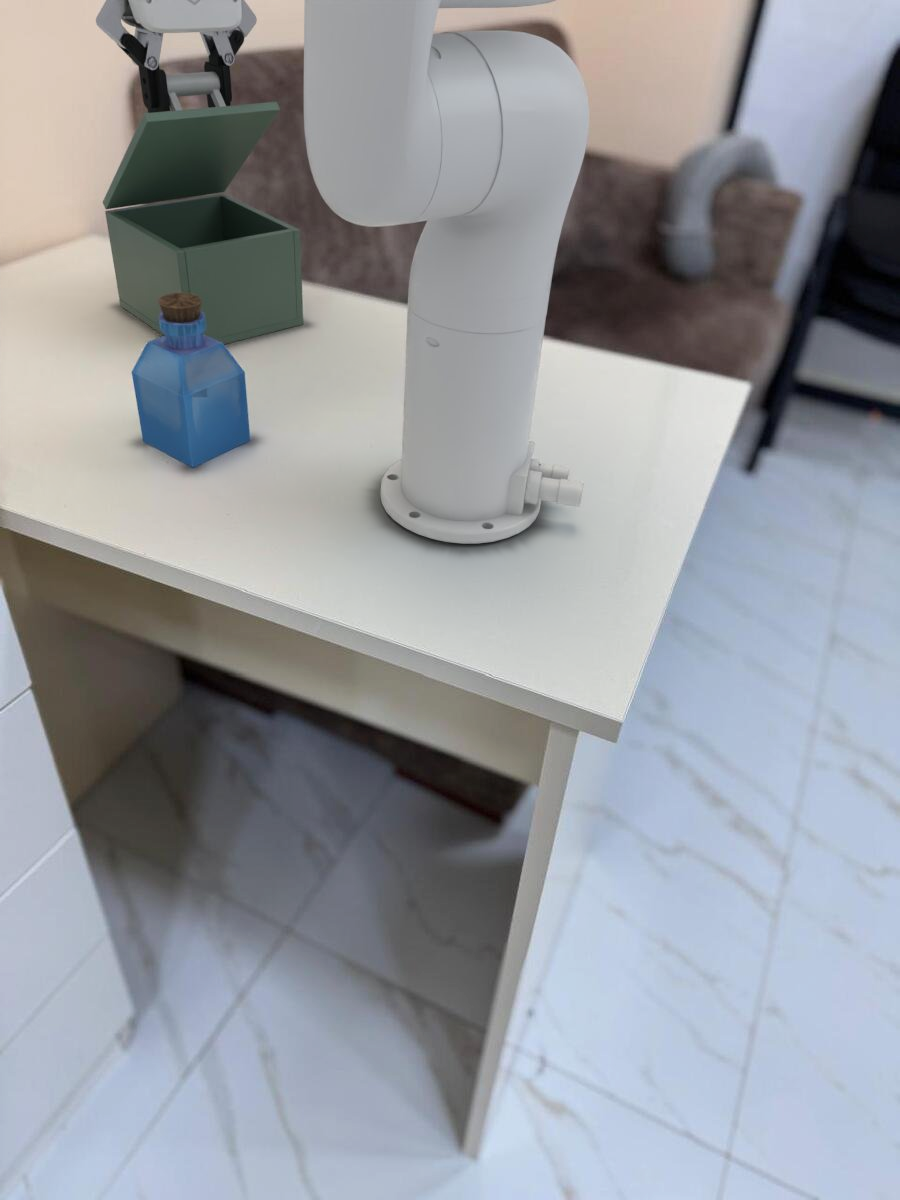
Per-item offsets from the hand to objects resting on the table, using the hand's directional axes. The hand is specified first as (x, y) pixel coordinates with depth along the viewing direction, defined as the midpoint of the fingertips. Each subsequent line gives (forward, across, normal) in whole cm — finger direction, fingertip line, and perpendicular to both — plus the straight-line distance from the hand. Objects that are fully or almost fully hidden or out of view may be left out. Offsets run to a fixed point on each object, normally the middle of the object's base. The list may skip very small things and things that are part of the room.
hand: (190, 112), depth 85 cm
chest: (+20, 0, 0) cm, 20 cm away
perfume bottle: (+20, -15, -23) cm, 34 cm away
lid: (+4, 0, +1) cm, 5 cm away
